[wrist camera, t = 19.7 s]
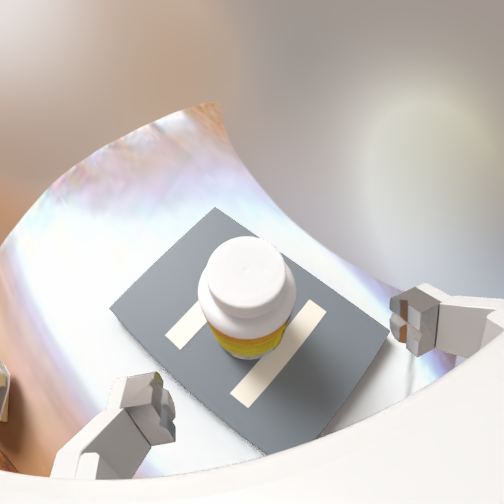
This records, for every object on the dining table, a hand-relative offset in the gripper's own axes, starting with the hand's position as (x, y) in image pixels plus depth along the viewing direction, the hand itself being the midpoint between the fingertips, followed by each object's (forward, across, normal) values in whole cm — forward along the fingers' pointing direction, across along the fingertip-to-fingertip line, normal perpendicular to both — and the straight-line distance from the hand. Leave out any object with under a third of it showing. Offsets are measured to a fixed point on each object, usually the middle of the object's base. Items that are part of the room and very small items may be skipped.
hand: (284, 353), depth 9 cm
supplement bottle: (+13, 0, +6) cm, 15 cm away
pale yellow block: (+13, +28, +8) cm, 32 cm away
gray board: (+14, 0, +7) cm, 16 cm away
